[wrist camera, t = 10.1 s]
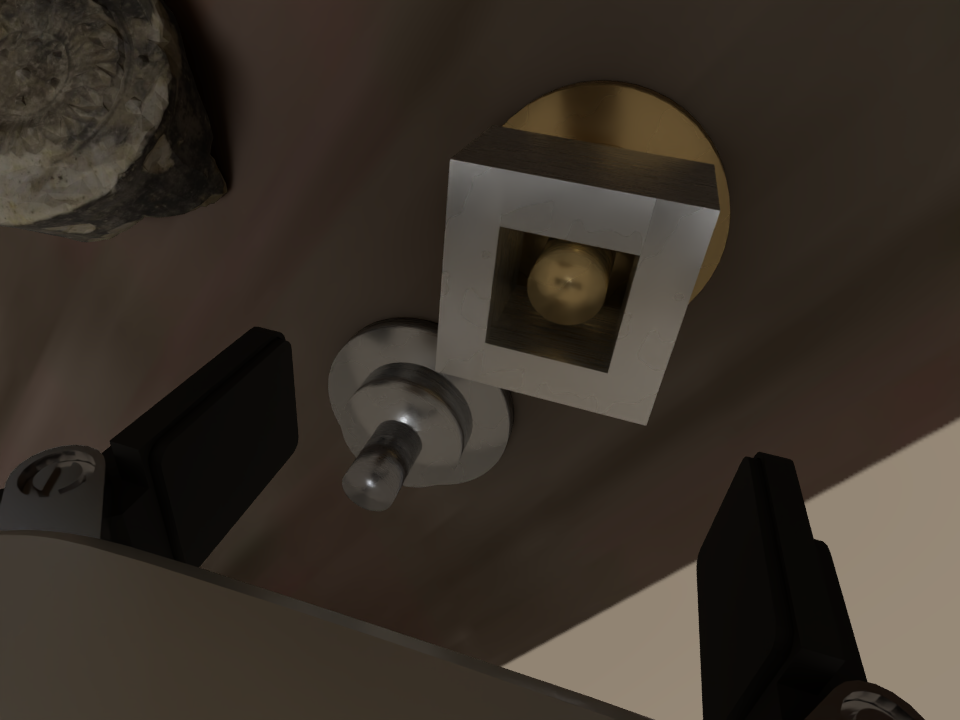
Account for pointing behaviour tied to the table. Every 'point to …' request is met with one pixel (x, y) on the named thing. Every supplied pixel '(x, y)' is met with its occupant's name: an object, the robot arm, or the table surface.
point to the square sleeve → (578, 218)
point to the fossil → (99, 118)
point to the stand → (411, 414)
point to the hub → (619, 123)
